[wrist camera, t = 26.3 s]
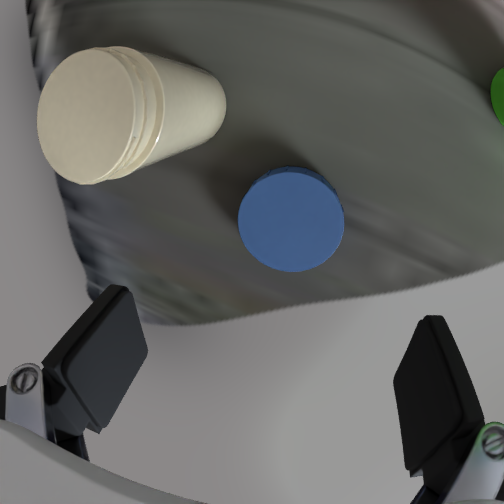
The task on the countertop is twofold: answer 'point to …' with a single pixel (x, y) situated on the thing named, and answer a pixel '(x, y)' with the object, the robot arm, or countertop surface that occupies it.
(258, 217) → the jar lid
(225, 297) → the countertop surface
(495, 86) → the cup
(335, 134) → the countertop surface
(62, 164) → the jar
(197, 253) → the countertop surface
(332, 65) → the countertop surface
